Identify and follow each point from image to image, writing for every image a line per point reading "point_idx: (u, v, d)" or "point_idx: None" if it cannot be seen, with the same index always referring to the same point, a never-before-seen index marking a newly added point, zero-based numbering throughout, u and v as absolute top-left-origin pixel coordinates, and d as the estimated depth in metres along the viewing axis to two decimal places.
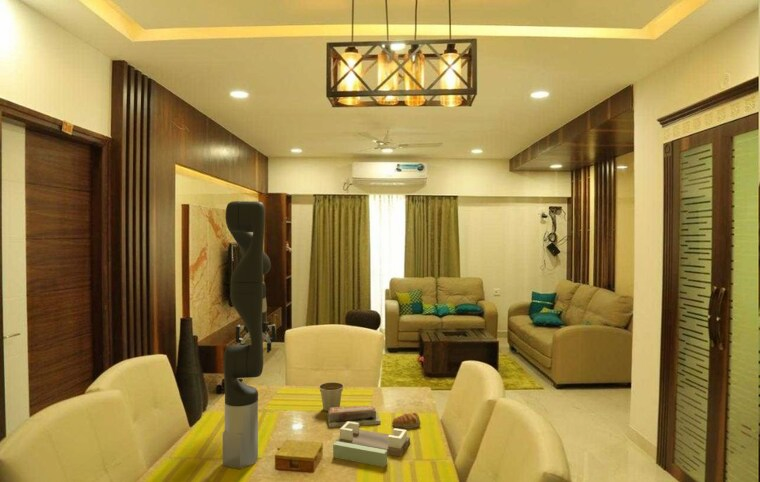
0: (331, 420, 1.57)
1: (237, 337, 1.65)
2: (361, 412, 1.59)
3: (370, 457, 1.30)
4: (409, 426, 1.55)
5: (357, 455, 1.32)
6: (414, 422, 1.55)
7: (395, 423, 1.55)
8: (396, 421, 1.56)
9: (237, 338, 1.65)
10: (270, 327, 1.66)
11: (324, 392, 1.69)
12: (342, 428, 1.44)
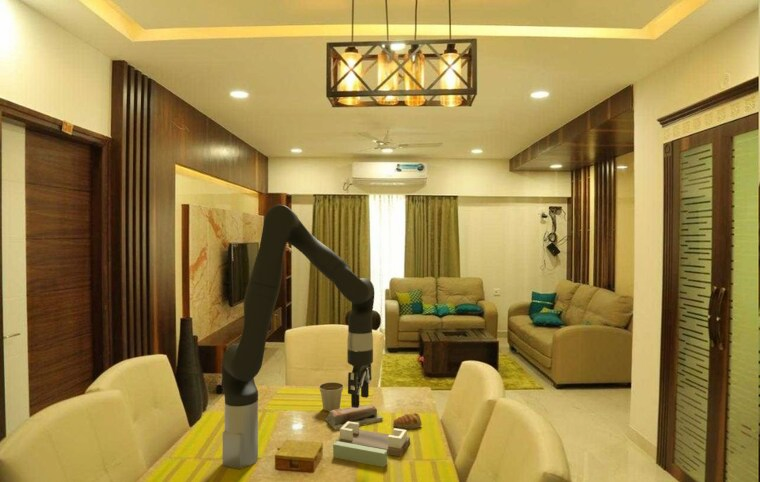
0: (336, 423, 1.55)
1: None
2: (363, 412, 1.60)
3: (370, 457, 1.30)
4: (410, 426, 1.55)
5: (357, 455, 1.32)
6: (416, 423, 1.55)
7: (396, 424, 1.55)
8: (397, 422, 1.55)
9: None
10: None
11: (324, 392, 1.69)
12: (342, 428, 1.44)
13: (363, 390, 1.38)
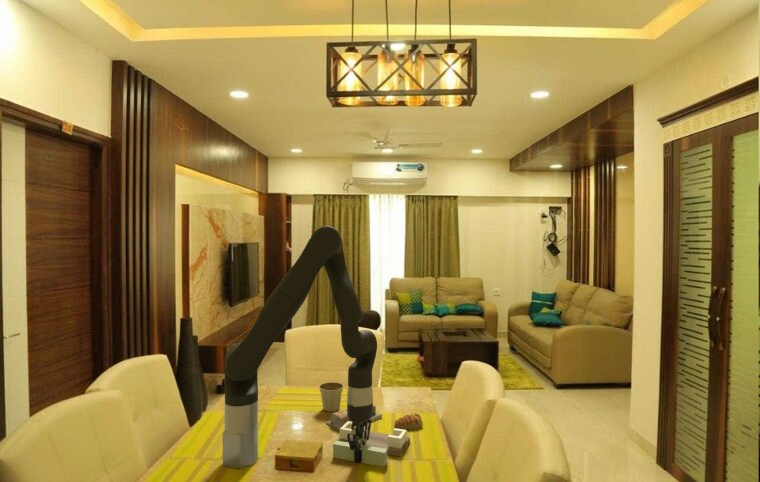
0: None
1: None
2: None
3: (371, 457, 1.30)
4: (412, 427, 1.54)
5: None
6: (417, 423, 1.55)
7: (398, 424, 1.54)
8: (398, 422, 1.55)
9: None
10: None
11: (324, 392, 1.69)
12: (342, 428, 1.44)
13: None
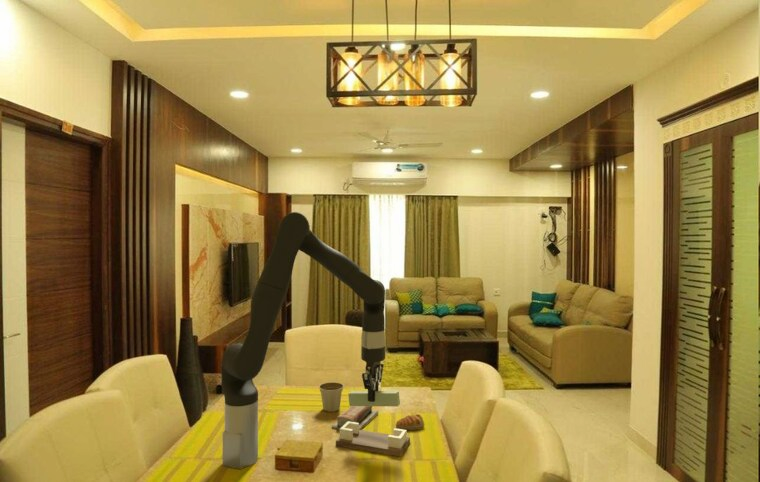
0: None
1: None
2: (366, 409, 1.62)
3: (384, 399, 1.41)
4: (413, 428, 1.54)
5: None
6: (419, 424, 1.54)
7: (399, 425, 1.54)
8: (400, 423, 1.54)
9: None
10: None
11: (324, 392, 1.69)
12: (342, 428, 1.44)
13: None
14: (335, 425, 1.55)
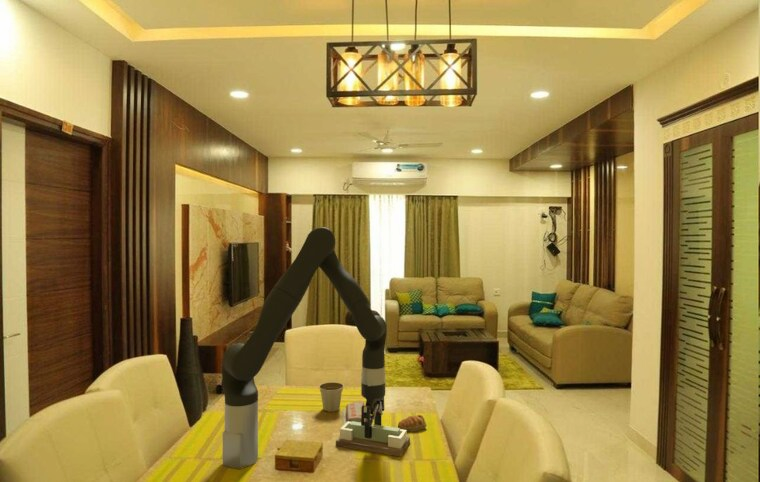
0: None
1: None
2: None
3: (385, 435, 1.41)
4: (415, 429, 1.53)
5: (372, 433, 1.42)
6: (421, 424, 1.54)
7: (401, 426, 1.53)
8: (402, 424, 1.53)
9: None
10: None
11: (324, 392, 1.69)
12: (342, 428, 1.44)
13: (376, 420, 1.47)
14: None
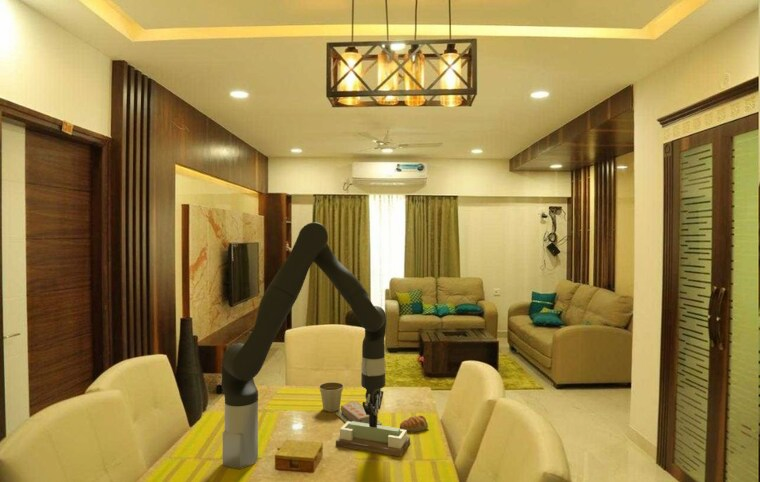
0: None
1: None
2: None
3: (385, 435, 1.41)
4: (417, 429, 1.52)
5: (372, 433, 1.42)
6: (423, 425, 1.53)
7: (403, 427, 1.52)
8: (404, 425, 1.52)
9: None
10: None
11: (324, 392, 1.69)
12: (342, 428, 1.44)
13: None
14: None
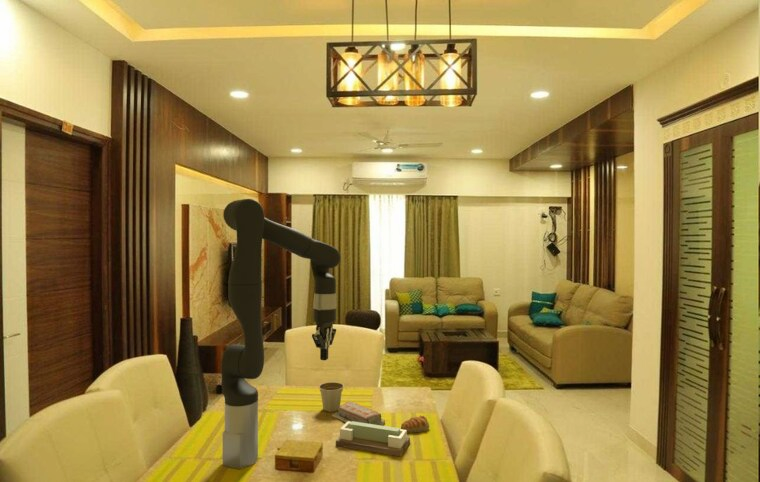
0: None
1: None
2: None
3: (385, 435, 1.41)
4: (419, 430, 1.52)
5: (372, 433, 1.42)
6: (424, 425, 1.53)
7: (405, 428, 1.51)
8: (406, 426, 1.52)
9: None
10: None
11: (324, 392, 1.69)
12: (342, 428, 1.44)
13: None
14: None
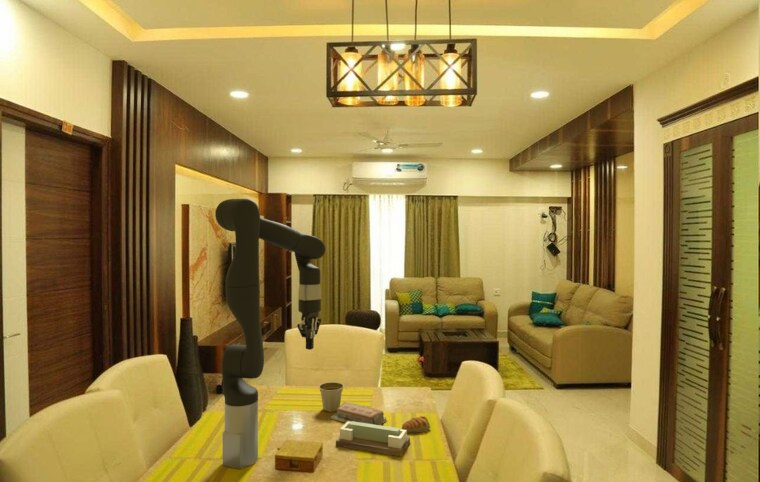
0: None
1: None
2: None
3: (385, 435, 1.41)
4: (420, 430, 1.52)
5: (372, 433, 1.42)
6: (425, 426, 1.53)
7: (406, 428, 1.51)
8: (407, 426, 1.51)
9: None
10: None
11: (324, 392, 1.69)
12: (342, 428, 1.44)
13: None
14: None
